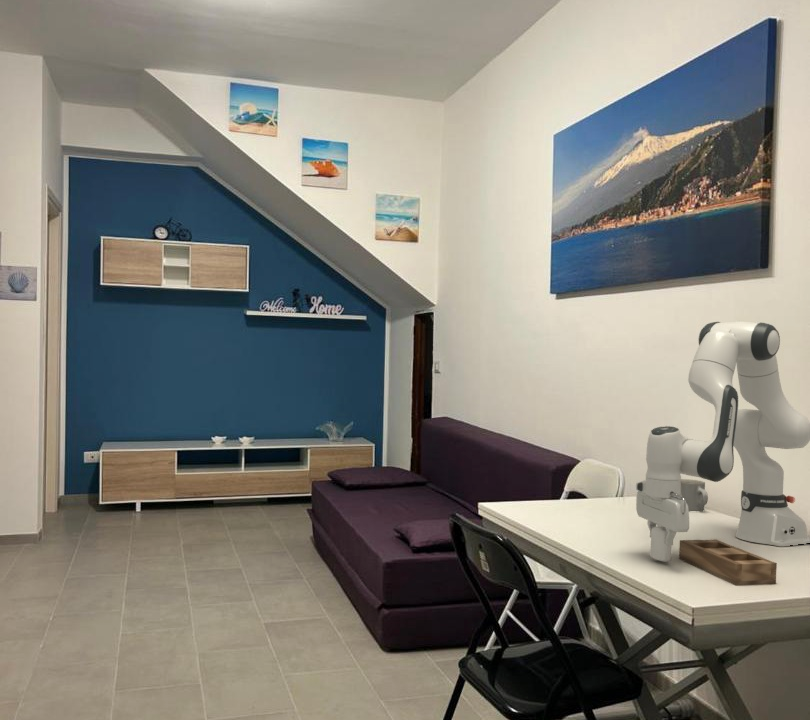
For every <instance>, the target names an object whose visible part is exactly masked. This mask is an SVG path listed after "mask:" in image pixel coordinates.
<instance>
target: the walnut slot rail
mask: <svg viewBox="0 0 810 720" xmlns="http://www.w3.org/2000/svg"><path fill="white" fill-rule="evenodd" d="M678 553H679V554H678V555H679V556H678V559H679V560H680V561H683V562H684V563H687V564H689V565H691V566H693V567H696V568H697V569H700V570H702V571H704V572H706V573H709V574H711V575H713V576H714V577H717V578H719V579H721V580H723V581H726V582H728V583H730V584H732V585H734V586H749V585H750V586H752V585H753V586H756V585H757V586H758V585H776V584H777V565H778V564H777V562H774V561H773V560H770V559H767V558H764V557H761V556H759V555H756V554H754V553H752V552H749V551H747V550H744V549H741V548H739V547H738V546H737V547H736V546H734V545H731V544H728V543H726V542H724V541H722V540H718V539H681V540H679V552H678Z"/></svg>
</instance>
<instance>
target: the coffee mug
mask: <svg viewBox="0 0 810 720" xmlns="http://www.w3.org/2000/svg"><path fill="white" fill-rule="evenodd" d="M705 488H706V482H705V481H703V480H697V479H687V478H681V495H682V496H683V497H684V499H685V501H686V503H687V505H688V510H689V512H690V511H702V512H704V511H705V506H706V505H707V504H708V501H709V496H708V495H709V494H708V492H707V491H706V489H705ZM682 500H683V499H682ZM703 510H704V511H703Z"/></svg>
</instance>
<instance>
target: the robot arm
mask: <svg viewBox="0 0 810 720" xmlns="http://www.w3.org/2000/svg"><path fill="white" fill-rule="evenodd" d="M780 337H781V336H780V333H779V331H778V330H777V328H776V327H775V326H774V325H772V324H770V323H765V322H753V321H743V320H742V321H741V320H739V321H724V322H721V321H713V322H709V323H707V324H705V325H704V326H703V327H702V329H701V330H700V331H699V335H698V347H697V350H696V352H695V355H694V357H693V359H692V363H691V366H690V369H689V373H688V377H687V378H688V379H687V381H688V383H689V387H690V388H691V390H692V392H693V393H694V394H696V395H697V396H698V397H700V398H701V399H702V400H704V401H706V402H708V403H710V404H712V405H713V407H714V409H715V416H714V422H713V430H712V436H711V438H710V439H709V440H699V439H692V438H689V437H687V436H684V435H683V434H682V433H681V431H680V428H678V427H675V426H670V425H669V426H667V425H665V426H658V427H654V428H653V429H651V430H650V432H649V434H648V438H647V442H646V443H647V444H646V445H647V446H646V455H645V456H646V457H645V458H646V459H645V460H646V464H647V465H646V466H647V468H646V469H647V470H646V473H645V479H644V480H642V481H637V482H636V484H635V490H636V491H637V492H636V499H635V501H636V508H635V509H636V514H637V516H638V517H640V518H642V519H644V520H647V527H648V529H649V538H651V531H652V528H653V527H657V524H658V525H660V526H663V527H665V528H666V532H668V533H667V536H666V537H664V544H666V545H668V546H671V547H672V546H673V545H674V539H675V537H676V535H677V533H687V532H688V531H689V530H690V511H689V510H688V505H687V503H686V501H685V499H684V497H683V496H682V495H681V479H682V475H686V476H690V477H696V478H701V479H703V480H706V481H710V482H715V483H718V482H721V481H722V480H724V479H726V477H727V476H729V475H730V474H731V472H732V471H733V467H734V462H735V461H734V460H735V459H734V457H735V455H734V448H735V450H736V452H737V453H738V455H739V457H740V460H741V464H742V476H743V477H742V481H743V482H742V483H743V484H742V490H741V495H740V507H741V511H740V517H739V523H738V527H737V529H736V533H735V535H734V536H735V537H736V538H737V539H740V540H743V541H746V542H751V543H757V544H764V545H771V546H776V547H790V545H793V546H799V545H798V544H804V545H807V544H806V543H810V536H808V532H807V531H808V528H807V525H806V522H805V520H804V519H803V518H801V517H800V516H799V515H798V514H797V513H795V511H793V510H792V509H791V508H790V507H788V506H789V505H788V503H790V504H794V503H795V502H796V498H795V496H791V495H785V494H784V481H785V480H784V479H785V478H784V476H785V473H784V472H785V471H784V469H783V467H782V466H781V464H780V463H779V462H777V461H776V460H774V459H773V458H771V457H770V456H769V455H768V454H767V450H766V448H772V449H781V450H792V449H793V450H794V449H803V448H805V447H806V446H807V445H808V444H809V442H810V420H809V419H808V418H807V417H806V416H805V415H804V414H801V413H800V412H799V411H798V410H796V409H795V408H794V407H793V406H792V405H791V404H790V403H789V401H788V399H787V398H786V396H785V394H784V392H783V389H782V385H781V380H780V372H779V365H778V360H777V356H776V355H777V353H778V351H779V349H780V343H781V338H780ZM736 369H737V370H736ZM735 370H736V372H737V377H738V385H739V391H740V395H741V398H743V399H744V400H745V401H746V403H749V404H751V405H752V406H754V407H755V408H756V409H750V408H749V409H748V408H743V409H739V394H738V391H737V389H736V388H734V386H733V377H734V373H735ZM682 499H683V500H682Z"/></svg>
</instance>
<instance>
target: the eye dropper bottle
mask: <svg viewBox="0 0 810 720" xmlns="http://www.w3.org/2000/svg"><path fill="white" fill-rule="evenodd" d="M667 533H668V532H666V528H665V527H663V526H660V525H658V524H657V525H656V527H653V528H652V531H651V537H650V549H649V551H650V552H649V556H650V557H651V558H652V559H654V560H656V561H659V562H671V559H672V558H671V556H672V546H668V545H666V544H664V537H666V536H667Z"/></svg>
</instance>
